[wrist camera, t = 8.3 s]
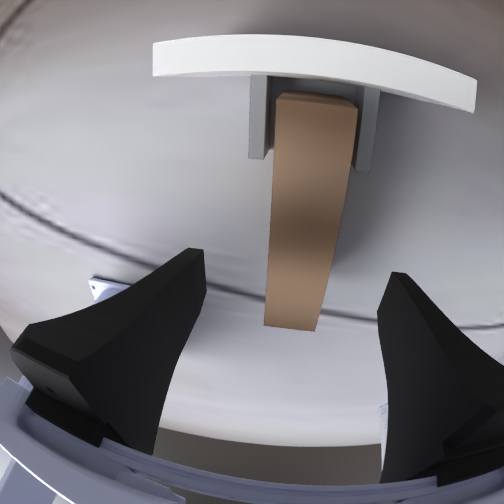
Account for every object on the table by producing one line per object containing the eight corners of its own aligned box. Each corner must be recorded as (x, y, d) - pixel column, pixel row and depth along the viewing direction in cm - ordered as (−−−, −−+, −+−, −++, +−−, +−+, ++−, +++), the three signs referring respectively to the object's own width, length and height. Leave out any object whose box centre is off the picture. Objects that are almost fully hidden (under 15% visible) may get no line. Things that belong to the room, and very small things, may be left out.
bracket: (406, 166, 16) (452, 212, 10) (206, 144, 18) (158, 177, 12) (419, 77, 13) (477, 80, 7) (206, 54, 15) (153, 43, 9)
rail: (315, 274, 22) (314, 331, 17) (273, 269, 22) (263, 325, 18) (341, 95, 14) (358, 108, 10) (285, 89, 15) (276, 99, 10)
